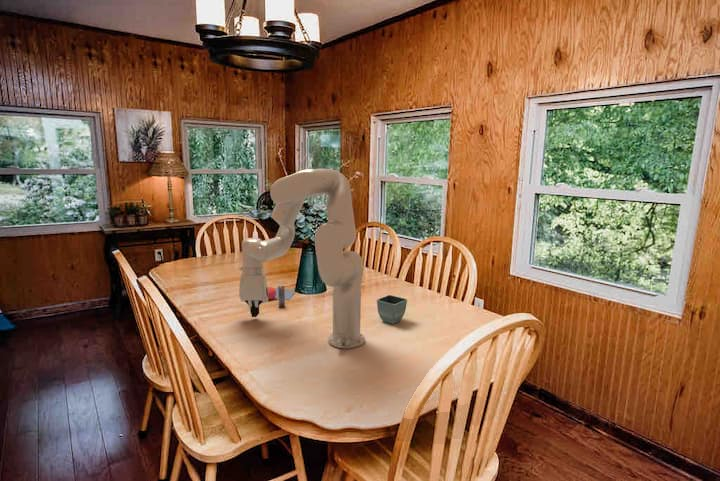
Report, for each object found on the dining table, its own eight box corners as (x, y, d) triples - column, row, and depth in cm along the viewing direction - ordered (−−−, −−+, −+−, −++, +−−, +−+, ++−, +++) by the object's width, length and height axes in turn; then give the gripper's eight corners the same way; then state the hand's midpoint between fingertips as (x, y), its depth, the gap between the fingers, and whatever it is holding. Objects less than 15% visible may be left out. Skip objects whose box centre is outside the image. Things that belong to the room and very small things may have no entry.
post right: (284, 308, 173) (283, 287, 172) (278, 307, 174) (277, 287, 172) (285, 305, 176) (285, 285, 174) (279, 305, 176) (279, 285, 175)
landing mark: (289, 299, 184) (289, 299, 184) (258, 298, 185) (258, 298, 185) (297, 290, 197) (297, 289, 197) (268, 289, 199) (268, 288, 199)
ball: (277, 286, 187) (277, 298, 187) (265, 286, 187) (264, 298, 187) (275, 287, 182) (275, 300, 182) (262, 287, 181) (262, 299, 181)
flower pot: (388, 315, 167) (389, 294, 165) (407, 320, 161) (407, 299, 159) (375, 321, 160) (376, 299, 158) (394, 327, 154) (394, 304, 153)
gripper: (230, 272, 154) (232, 318, 158) (269, 273, 153) (270, 320, 156) (238, 267, 161) (240, 311, 165) (275, 268, 160) (276, 313, 163)
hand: (255, 315), depth 161 cm, fingers closed
